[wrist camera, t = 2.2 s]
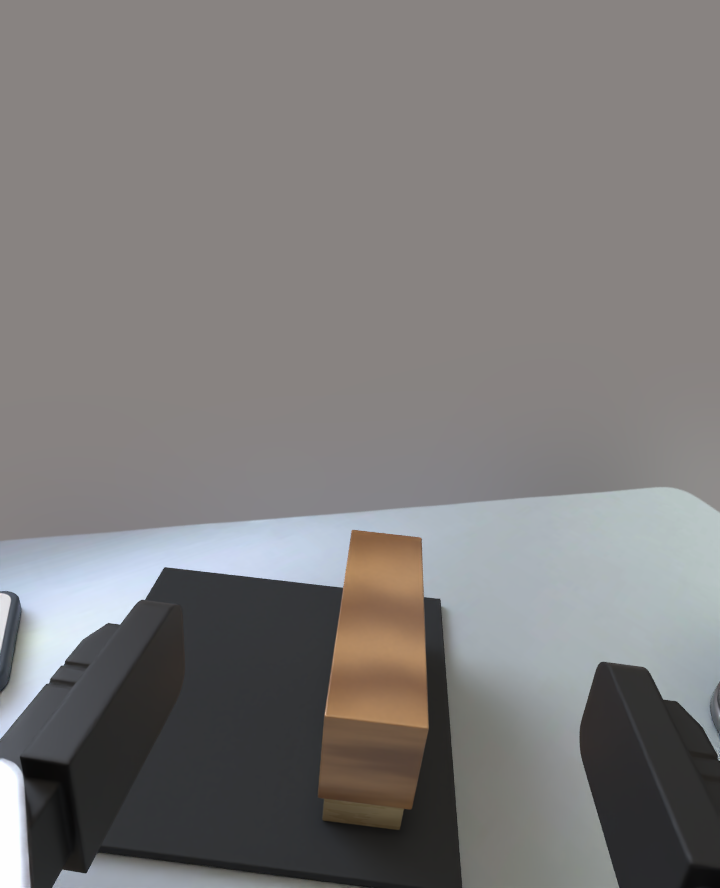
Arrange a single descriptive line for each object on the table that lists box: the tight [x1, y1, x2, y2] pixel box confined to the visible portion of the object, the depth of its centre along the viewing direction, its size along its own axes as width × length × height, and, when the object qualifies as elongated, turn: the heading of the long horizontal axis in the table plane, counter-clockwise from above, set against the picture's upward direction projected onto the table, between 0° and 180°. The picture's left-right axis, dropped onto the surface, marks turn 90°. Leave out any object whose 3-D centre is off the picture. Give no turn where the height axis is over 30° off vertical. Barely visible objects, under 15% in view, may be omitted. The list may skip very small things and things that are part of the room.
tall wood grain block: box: [318, 530, 429, 830], centre depth 33 cm, size 14×5×8 cm, turn 176°
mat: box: [98, 567, 462, 888], centre depth 36 cm, size 22×20×1 cm
